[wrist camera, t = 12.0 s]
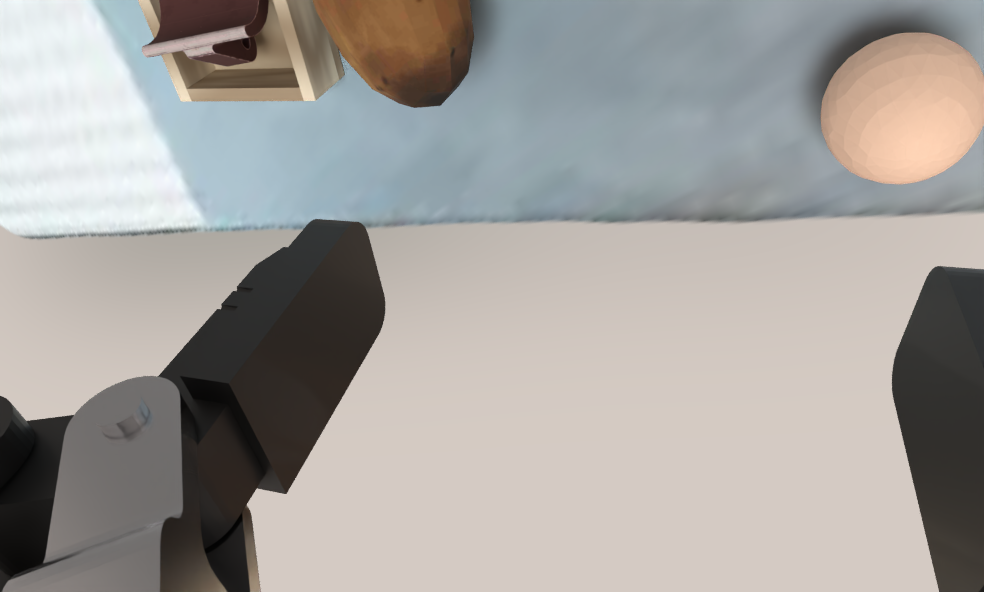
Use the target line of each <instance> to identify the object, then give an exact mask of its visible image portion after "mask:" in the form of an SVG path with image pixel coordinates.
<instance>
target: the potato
mask: <svg viewBox="0 0 984 592" xmlns="http://www.w3.org/2000/svg"><path fill="white" fill-rule="evenodd" d="M313 3H314V6H315V9H316V12H317V14H318V15H319V17H320V19H321V20H322V22H323V24H324V25H325V27H326V29H327V30H328V32H329V34H330V36H331V37H332V39H333V41H334V42H335V44H336V46H337V47H338V49H339V51H340V52H341V54H342V56H343V57H344V58H345V59H346V60H347V62H348V63H349V64H350V65H351V66H352V67H353V68H354V69H355V70H356V72H357V73H358V74H359V75H360V76H361V77H362V78H363V79H364V80H365V82H366V83H367V84H368V85H369V86H370V87H371V88H372V89H373V90H375V91H377V92H379V93H381V94H383V95H385V96H386V97H388V98H390V99H392V100H394V101H396V102H398V103H400V104H403V105H407V106H410V107H414V108H417V107H429V106H440V105H441V104H442V103H443V102H444V101H445V100H446V99H447V98H448V97H449V96H450V95H451V94H452V93H453V92H454V91H455V90H456V89H457V87H458V86H459V85H460V83H461V82H462V80H463V79H464V78H465V76H466V75H467V73H468V70H469V64H470V58H471V52H472V46H473V40H474V33H473V25H472V16H471V7H470V0H313Z"/></svg>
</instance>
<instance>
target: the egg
mask: <svg viewBox="0 0 984 592" xmlns="http://www.w3.org/2000/svg"><path fill="white" fill-rule="evenodd" d="M983 125H984V75H983V73H982V71H981V69H980V67H979V65H978V63H977V62H976V60H975V59H974V58H973V57H972V55H971V54H970V53H969V52H968V51H967V50H965V49H964V48H963V47H961V46H960V45H958V44H957V43H955V42H953V41H951V40H948V39H946V38H944V37H942V36H939V35H934V34H930V33H900V34H894V35H891V36H888V37H884V38H881V39H879V40H876V41H874V42H872V43H870V44H868V45H866V46H865V47H863V48H862V49H860V50H859V51H857V52H856V53H855V54H853V55H852V56H850V57H849V58H848V59H847V60H846V61H845V62H844V63H843V64H842V66H841V67H840V68H839V69H838V70H837V71H836V72H835V74H834V75H833V77H832V79H831V80H830V82H829V84H828V87H827V89H826V92H825V94H824V97H823V99H822V107H821V128H822V132H823V135H824V138H825V140H826V143H827V146H828V148H829V149H830V151H831V152H832V154H833V155H834V157H835V158H836V159H837V160H838V161H839V162H840V163H841V164H842V165H843V166H844V167H845V168H847V169H848V170H849V171H850V172H852V173H854V174H856V175H858V176H860V177H862V178H865V179H869V180H872V181H876V182H880V183H886V184H907V183H914V182H918V181H922V180H926V179H928V178H930V177H933V176H935V175H937V174H939V173H942V172H943V171H945V170H946V169H948V168H949V167H951V166H952V165H954V164H955V163H957V162H958V161H959V160H960V159H961V158H962V157H963V156H964V155H965V154H966V153H967V151H968V150H969V149H970V147H971V146H972V145H973V143H974V142H975V140H976V139H977V137H978V136H979V134H980V132H981V129H982V127H983Z"/></svg>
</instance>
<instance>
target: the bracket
mask: <svg viewBox="0 0 984 592" xmlns="http://www.w3.org/2000/svg"><path fill="white" fill-rule="evenodd" d="M159 3H160V14H161V18H160V27H159V30H158V33H157V35H156V37H155V39H154V40H153V41H152V42H151V43H149V44H148V45H145V46H143V47H142V52H143V54H144V55H145V56H146V57H154V56H159V55H164V54H169V53H173V52H178V51H183V52H185V54H186V55H187V57H188V58H189V59H193V60H198V61H202V62H207V63H211V64H216V65H221V66H225V67H228V66H233V65H239V64H244V63H249V62H253V61H255V59H256V57H257V43H256V39H255V36H256V35H257V34H259V33H260V32H261V30H262V29H263V27H264V25H265V23H266V20H267V15H268V7H269V0H159Z"/></svg>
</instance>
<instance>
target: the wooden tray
mask: <svg viewBox="0 0 984 592" xmlns="http://www.w3.org/2000/svg"><path fill="white" fill-rule="evenodd" d="M138 1H139V4H140V6H141V8H142V11H143V13H144V16H145V18H146V20H147V23H148V25H149V27H150V30H151V32H152V34H153V37H154V39H155V37H156V35H157V33H158V30H159V27H160V18H161V14H160V3H159V0H138ZM255 39H256V43H257V57H256V59H255V61H253V62H249V63H244V64H239V65H233V66H228V67H225V66H221V65H216V64H211V63H207V62H202V61H198V60H193V59H189V58H188V57H187V55H186V54H185V52H183V51H178V52H173V53H169V54H164V55H162V58H163V60H164V62H165V65H166V67H167V69H168V72H169V74H170V76H171V79H172V81H173V84H174V86H175V88H176V91H177V93H178V95H179V98H180V100H181V101H316V100H317V99H318V98H319V97H320V96H322V95H323V94H324V93H325V92H326V91H327V90H328V89H329V88H331V87H332V86H333V85H334V84H335V83H336V82H337V81H339V80H340V79H341V78H342V77H343V76H344V75H345V74H344V70H343V66H342V63H341V59H340V55H339V51H338V47H337V46H336V44H335V42H334V41H333V39H332V37H331V36H330V34H329V32H328V30H327V29H326V27H325V25H324V24H323V22H322V20H321V19H320V17H319V15H318V14H317V12H316V9H315V6H314V3H313V0H269V7H268V15H267V20H266V23H265V25H264V27H263V29H262V30H261V32H260V33H259V34H257V35H256V36H255Z"/></svg>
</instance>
